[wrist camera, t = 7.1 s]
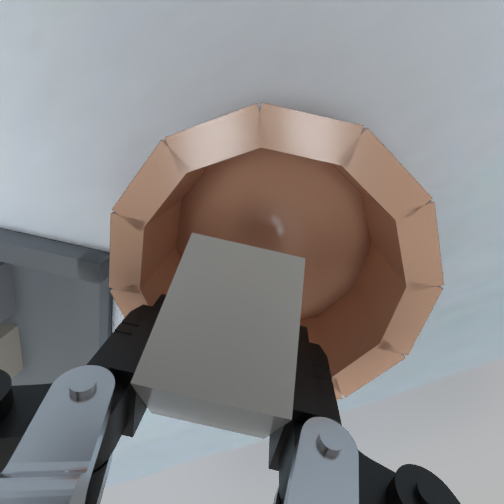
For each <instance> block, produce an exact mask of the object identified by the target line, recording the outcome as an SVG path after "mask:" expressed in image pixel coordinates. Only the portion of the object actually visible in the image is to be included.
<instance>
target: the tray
mask: <svg viewBox="0 0 504 504" xmlns="http://www.w3.org/2000/svg"><path fill="white" fill-rule="evenodd" d="M0 262H5V263H9V264H11V270H12V278H13V287H14V295H15V303H16V312H17V313H15V314H14V315H12V316H11V317H10V318H8V319H7V320H5V321H4V322H5V323H9V324H14V325H18V328H19V336H20V345H21V353H22V361H23V369H22V370H21V371H20V372H19V373H18V374H17V375H16V376H15V377H14V378H12V379H11V382H12V386H17V385H36V384H49V383H53V382H54V381H55V380H56V379H57V378H58V377H59V376H61V375H62V374H63V373H65V372H67V371H69V370H71V369H73V368H76V367H80V366H86V365H87V363H88V362H89V361H90V360H91V359H92V357H93V356H94V355H95V354H96V352H97V351H98V350H99V349H100V348H101V346H102V345H103V344H104V343H105V342H106V340H107V339H108V338H109V337H110V335H111V327H112V294H111V292H110V290H111V289H112V288H110V287H109V263H110V253H107V252H103V251H99V250H94V249H90V248H85V247H81V246H77V245H72V244H68V243H63V242H59V241H54V240H50V239H46V238H41V237H37V236H32V235H28V234H24V233H19V232H15V231H10V230H6V229H2V228H0Z"/></svg>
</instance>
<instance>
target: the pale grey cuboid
mask: <svg viewBox="0 0 504 504" xmlns="http://www.w3.org/2000/svg"><path fill="white" fill-rule="evenodd" d="M304 269H305V258H302V257H298V256H293V255H289V254H285V253H280V252H276V251H271V250H267V249H263V248H258V247H254V246H249V245H245V244H241V243H236V242H232V241H227V240H223V239H219V238H214V237H210V236H205V235H201V234H197V233H192V234H191V236H190V239H189V241H188V243H187V246H186V248H185V251H184V253H183V256H182V258H181V261H180V263H179V265H178V268H177V270H176V273H175V275H174V278H173V280H172V283H171V285H170V287H169V290H168V292H167V295H166V297H165V300H164V302H163V305H162V307H161V309H160V312H159V314H158V317H157V319H156V322H155V324H154V327H153V329H152V331H151V334H150V336H149V339H148V341H147V344H146V346H145V349H144V351H143V354H142V356H141V358H140V361H139V363H138V366H137V368H136V371H135V373H134V376H133V378H132V380H131V385H132V386H133V388H134V389H135V390H136V392H137V393H138V394H139V396H140V397H141V399H142V400H143V402H144V403H145V404H146V406H147V407H148V409H149V410H150V412H151V413H154V414H158V415H163V416H167V417H171V418H176V419H180V420H185V421H189V422H193V423H198V424H202V425H207V426H211V427H215V428H220V429H224V430H229V431H233V432H237V433H242V434H246V435H251V436H255V437H259V438H266V437H267V436H269V435H270V434H272V433H273V432H274V431H276V430H277V429H279V428H280V427H282V426H283V425H285V424H287V423H288V422H290V421H291V420H292V413H293V401H294V389H295V377H296V365H297V353H298V341H299V329H300V317H301V305H302V293H303V281H304Z"/></svg>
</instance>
